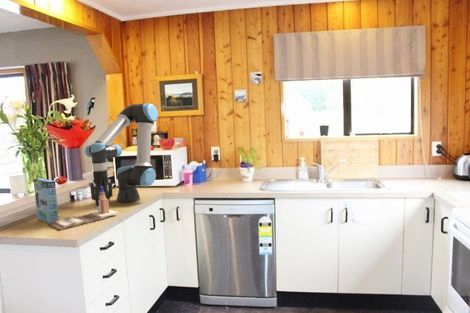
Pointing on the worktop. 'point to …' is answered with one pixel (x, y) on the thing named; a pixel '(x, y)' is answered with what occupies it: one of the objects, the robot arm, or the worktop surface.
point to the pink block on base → (104, 209)
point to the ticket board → (74, 221)
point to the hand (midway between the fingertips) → (103, 210)
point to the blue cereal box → (46, 200)
